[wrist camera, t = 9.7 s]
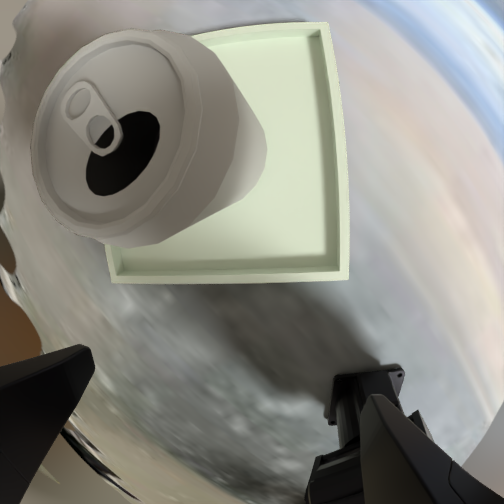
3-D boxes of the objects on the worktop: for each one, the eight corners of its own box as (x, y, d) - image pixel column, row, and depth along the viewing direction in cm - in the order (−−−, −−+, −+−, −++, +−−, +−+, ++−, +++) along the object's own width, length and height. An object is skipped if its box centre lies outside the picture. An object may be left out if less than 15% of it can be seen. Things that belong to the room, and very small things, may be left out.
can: (200, 231, 19) (86, 309, 7) (140, 147, 18) (-2, 139, 6) (292, 163, 17) (295, 138, 6) (223, 77, 16) (134, -26, 4)
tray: (343, 269, 19) (348, 279, 17) (124, 274, 22) (112, 283, 20) (325, 35, 15) (327, 22, 13) (108, 74, 17) (94, 68, 15)
